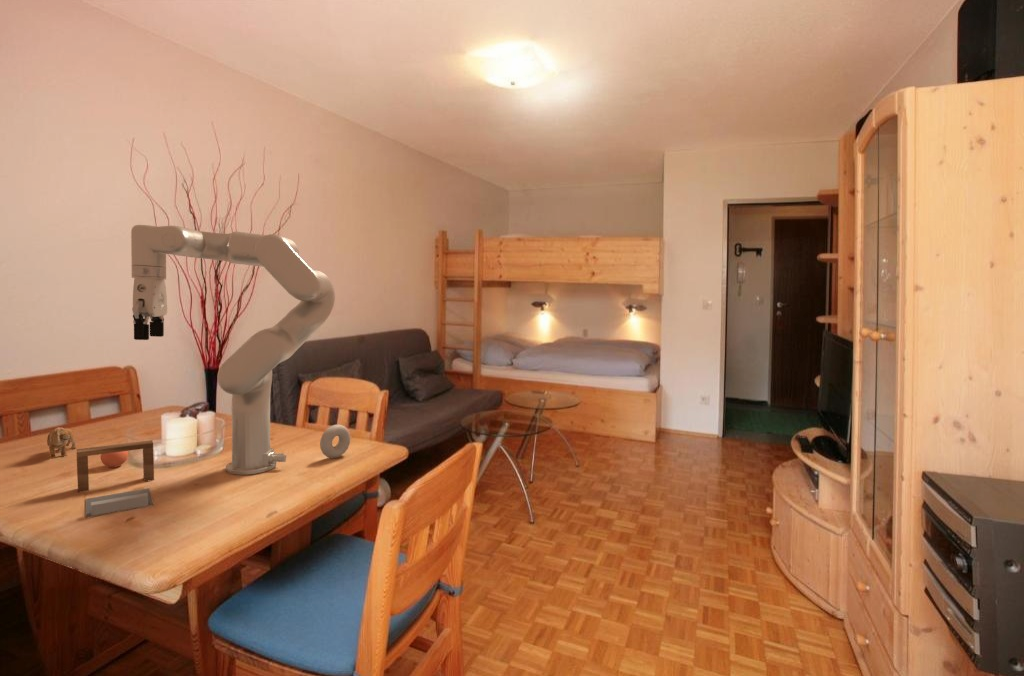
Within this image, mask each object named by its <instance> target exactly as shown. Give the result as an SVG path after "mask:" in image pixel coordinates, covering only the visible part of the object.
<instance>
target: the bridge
mask: <svg viewBox="0 0 1024 676" xmlns="http://www.w3.org/2000/svg"><path fill="white" fill-rule="evenodd" d="M136 450H142V465H143V466H142V467H143V470H142V472H143V481H144V482H149V481H148V480H151V481H154V480H155V469H154V468H155V467H154V466H155V464H154V463H155V461H154V460H155V459H154V441H153V439H149V440H142V441H134V442H125V443H117V444H109V445H102V446H101V445H100V446H92V447H84V448H76V474H77V492H78V493H80V492H88V491H90V490H89V489H90V483H89V481H90V480H89V479H90V478H89V457H90V456H98V455H101V454H106V453H114V452H122V451H128V452H129V451H136Z"/></svg>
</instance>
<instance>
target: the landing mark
mask: <svg viewBox="0 0 1024 676" xmlns="http://www.w3.org/2000/svg"><path fill="white" fill-rule="evenodd" d="M143 493H148V506H142V507H137V508H132V509H126V510H121V511H116V512H110V513H105V514H99V515H94V516H92V515H91V502H97V501H102V500H108V499H114V498H120V497H125V496H131V495H137V494H143ZM151 506H154V501H153V497H152V494H151V489H150V488H143V489H136V490H131V491H125V492H119V493H114V494H105V495H101V496H100V495H99V496H95V497H89V498H86V499H85V519H87V518H92V517H93V518H94V517H98V516H103V515H109V514H115V513H120V512H126V511H130V510H136V509H141V508H148V507H151Z"/></svg>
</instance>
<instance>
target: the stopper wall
mask: <svg viewBox="0 0 1024 676" xmlns="http://www.w3.org/2000/svg"><path fill="white" fill-rule="evenodd" d="M142 506H147V507H149V506H148V493H143V494H137V495H131V496H125V497H120V498H114V499H108V500H102V501H97V502H91V515H92V516H93V517H95V516H94V515H99V514H104V515H106V514H105V513H110V512H115V513H117V512H116V511H120V512H122V511H121V510H126V509H131V510H133V509H132V508H136V509H138V508H137V507H142ZM142 508H143V507H142ZM126 511H127V510H126ZM110 514H111V513H110ZM99 516H100V515H99Z"/></svg>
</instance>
